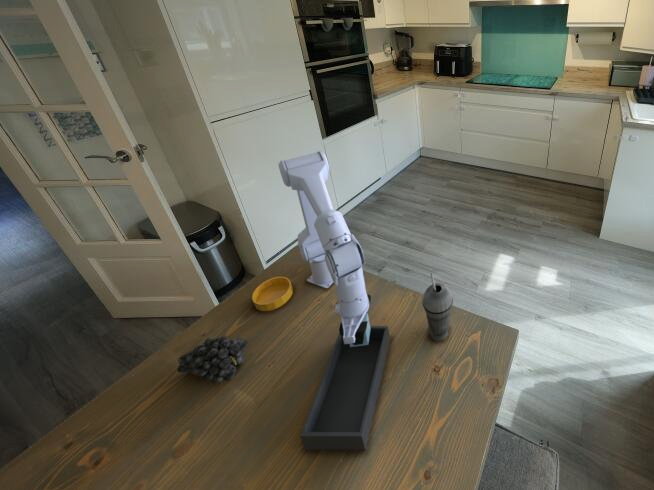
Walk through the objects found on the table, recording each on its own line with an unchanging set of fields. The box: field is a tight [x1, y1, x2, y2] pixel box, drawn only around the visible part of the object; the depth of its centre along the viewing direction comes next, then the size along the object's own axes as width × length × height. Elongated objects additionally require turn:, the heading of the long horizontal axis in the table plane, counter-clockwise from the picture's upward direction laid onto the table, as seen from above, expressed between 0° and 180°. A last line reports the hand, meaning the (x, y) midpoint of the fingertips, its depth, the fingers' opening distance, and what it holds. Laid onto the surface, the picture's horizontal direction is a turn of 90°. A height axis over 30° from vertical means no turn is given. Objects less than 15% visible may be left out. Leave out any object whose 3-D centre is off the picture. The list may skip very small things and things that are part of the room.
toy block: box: [350, 312, 371, 347], centre depth 71 cm, size 4×4×6 cm
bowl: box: [251, 276, 294, 312], centre depth 87 cm, size 9×9×3 cm
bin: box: [299, 325, 391, 451], centre depth 66 cm, size 21×11×5 cm, turn 0°
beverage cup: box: [421, 272, 454, 342], centre depth 75 cm, size 7×7×20 cm
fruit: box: [176, 335, 248, 385], centre depth 69 cm, size 9×8×15 cm
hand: (360, 333), depth 71 cm, fingers closed on toy block, 4 cm apart
